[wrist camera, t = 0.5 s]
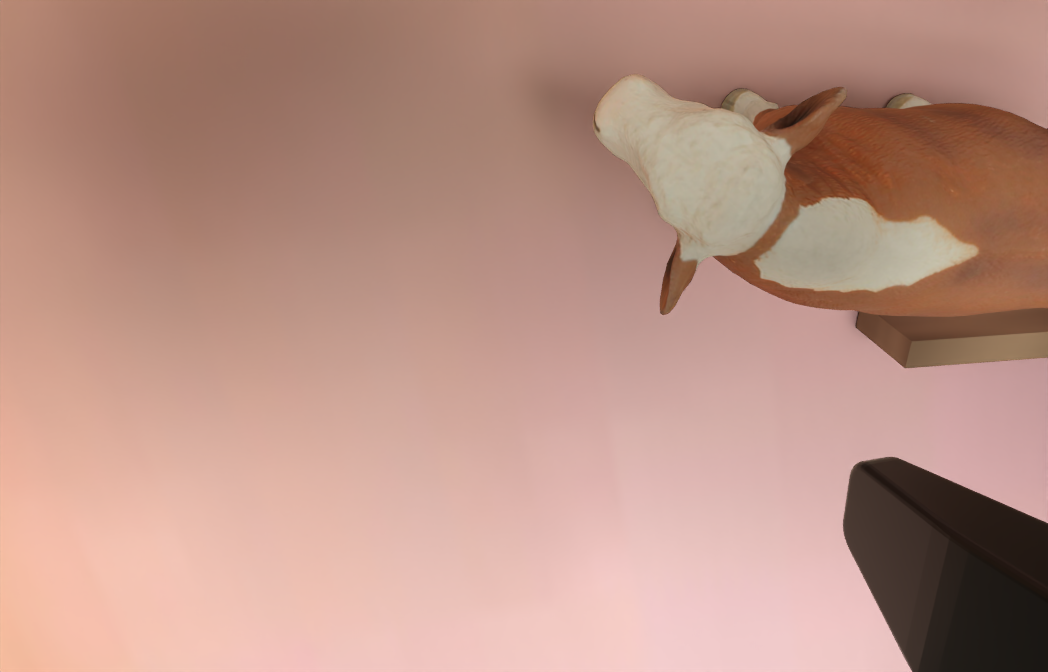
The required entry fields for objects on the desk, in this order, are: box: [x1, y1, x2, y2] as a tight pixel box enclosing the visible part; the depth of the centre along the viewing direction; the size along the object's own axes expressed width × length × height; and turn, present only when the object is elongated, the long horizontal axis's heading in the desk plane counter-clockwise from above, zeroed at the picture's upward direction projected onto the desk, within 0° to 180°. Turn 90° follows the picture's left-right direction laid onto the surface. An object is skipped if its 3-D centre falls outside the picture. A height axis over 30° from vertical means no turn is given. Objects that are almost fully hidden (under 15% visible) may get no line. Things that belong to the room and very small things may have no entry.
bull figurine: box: [593, 74, 1048, 317], centre depth 16 cm, size 4×13×8 cm, turn 80°
